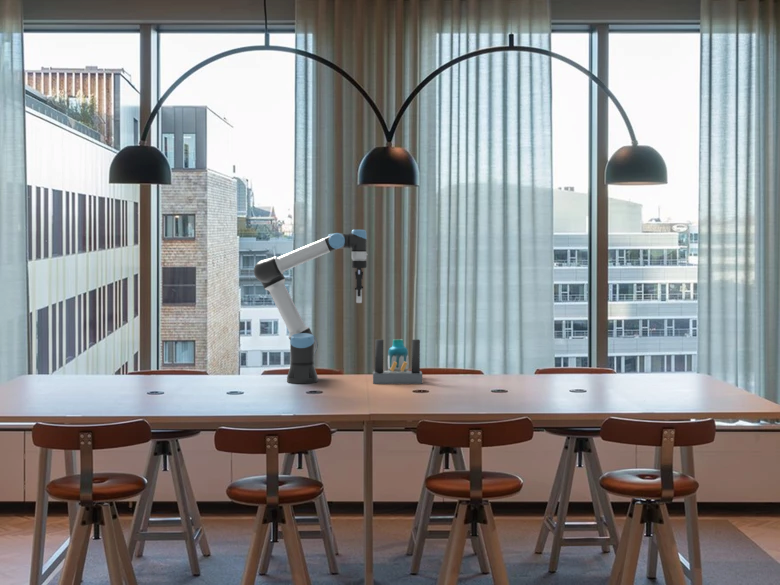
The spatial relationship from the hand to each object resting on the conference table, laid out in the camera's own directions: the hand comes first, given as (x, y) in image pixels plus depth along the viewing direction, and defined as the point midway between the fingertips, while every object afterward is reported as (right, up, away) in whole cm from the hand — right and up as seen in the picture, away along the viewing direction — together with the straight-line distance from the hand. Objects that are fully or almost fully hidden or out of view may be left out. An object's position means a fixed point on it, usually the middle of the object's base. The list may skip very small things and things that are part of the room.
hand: (359, 302), depth 480 cm
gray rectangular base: (+19, -39, -13) cm, 46 cm away
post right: (+28, -34, -13) cm, 46 cm away
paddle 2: (+21, -34, -13) cm, 42 cm away
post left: (+10, -34, -13) cm, 38 cm away
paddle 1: (+16, -34, -13) cm, 40 cm away
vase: (+20, -39, +7) cm, 44 cm away
